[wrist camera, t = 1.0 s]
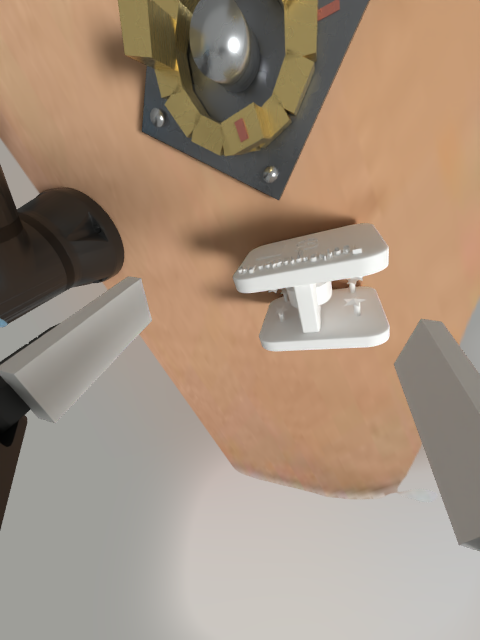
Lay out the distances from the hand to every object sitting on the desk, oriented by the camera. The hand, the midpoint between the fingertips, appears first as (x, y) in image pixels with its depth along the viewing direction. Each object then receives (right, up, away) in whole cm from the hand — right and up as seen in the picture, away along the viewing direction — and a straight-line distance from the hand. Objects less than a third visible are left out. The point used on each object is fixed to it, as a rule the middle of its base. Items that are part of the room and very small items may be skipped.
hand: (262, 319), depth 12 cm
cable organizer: (+9, +7, +21) cm, 24 cm away
